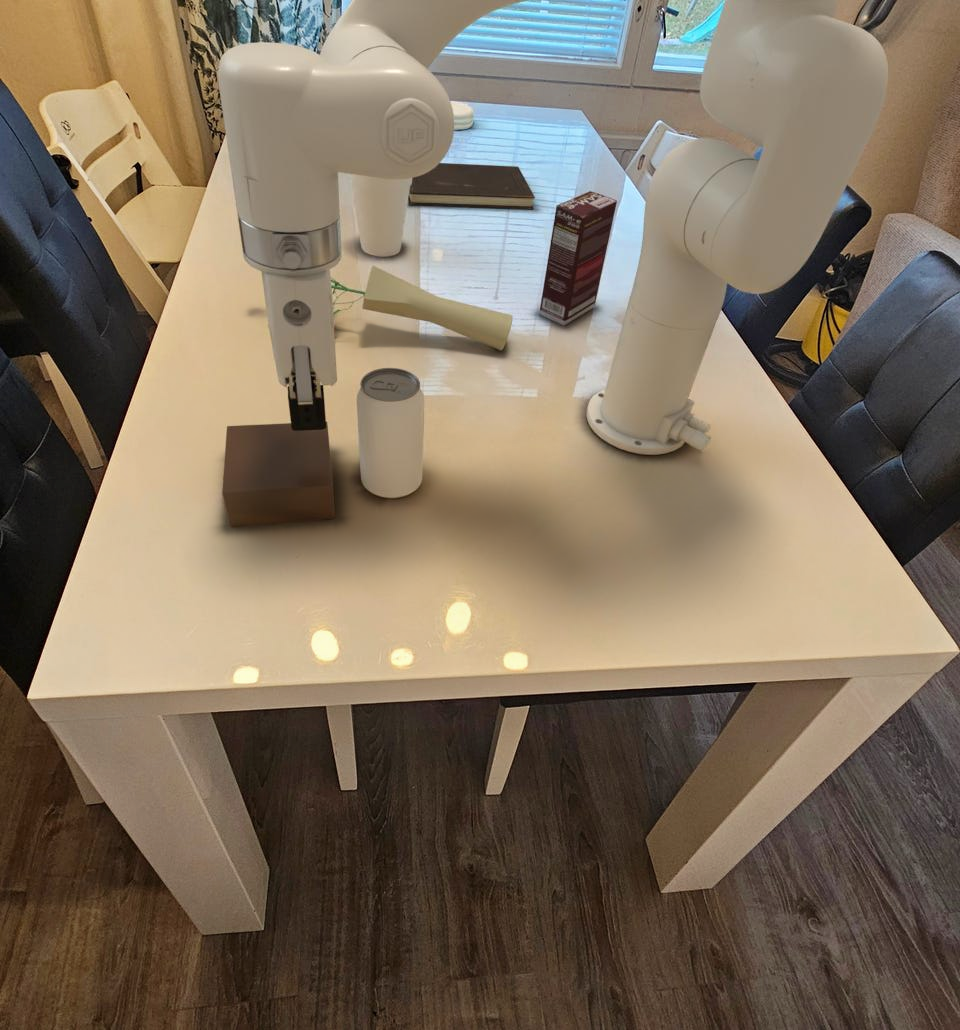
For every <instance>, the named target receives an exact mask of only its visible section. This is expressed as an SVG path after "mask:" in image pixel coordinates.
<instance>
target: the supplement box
mask: <svg viewBox="0 0 960 1030" xmlns="http://www.w3.org/2000/svg"><path fill="white" fill-rule="evenodd" d="M617 203H618V200H617V199H614V198H612V197H609V196H606V195H603V194H601V193H597V192H594V191H591V190H589V191H587V192H585V193H582V194H581V195H578V196H575V197H573V198H571V199H569V200H567V201H563V202H562V203H560V204H556V206H555V213H554V218H553V225H552V232H551V237H550V244H549V251H548V256H547V263H546V269H545V275H544V280H543V281H544V282H543V285H542V286H543V287H542V292H541V294H542V295H541V299H540V305H539V312H538V314H539V315H540V316H542V317H544V318H545V319H548V320H550V321H552V322H554V323H556V324H558V325H560V326H566V325H567V324H569V323H570V322H572V321H574V320H576V319H577V318H578V317H580V316H582V315H584V314H586V313H587V312H589V311H590V310H592V309H593V308H595V307H596V302H597V298H598V293H599V289H600V283H601V278H602V274H603V268H604V264H605V260H606V255H607V249H608V245H609V240H610V237H611V231H612V226H613V222H614V217H615V212H616V208H617Z"/></svg>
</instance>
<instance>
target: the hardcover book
mask: <svg viewBox="0 0 960 1030" xmlns="http://www.w3.org/2000/svg"><path fill="white" fill-rule="evenodd" d="M533 199H536V196H535V195H534V193H533V191H532V189H531V187H530V185H529V183H528V182H527V180H526V178H525V176H524V174H523V173H522V171H521V169H520V166H516V165H494V164H473V163H472V164H471V163H451V162H450V163H449V162H448V163H447V162H440V163H439V164H438V165H437V166H436V167H435V168H433V169H432V170H430V171H429V172H427V173H425V174H423V175H420V176H418V177H414V178H412V185H410V190H409V197H408V204H409V206H423V207H425V206H426V207H451V208H452V207H453V208H455V207H456V208H479V209H480V208H483V209H484V208H485V209H508V210H509V209H513V210H534V206H533V203H534V201H533Z"/></svg>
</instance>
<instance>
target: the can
mask: <svg viewBox="0 0 960 1030" xmlns="http://www.w3.org/2000/svg"><path fill="white" fill-rule="evenodd" d="M359 385H360V387H359V389H358V392H357V395H356V414H357V415H356V416H357V432H358V433H357V434H358V435H357V436H358V451H359V453H358V454H359V464H360V465H359V468H360V469H359V470H360V480H361V483H362V485H363V487H364V488H365V489H366V491H368V492H370V493H371V494H373V495H374V496H377V497H381V498H384V499H400V498H403V497H407V496H409V495H411V494H413V493H414V492H415V491H417V490H418V489H419V488H420V486H421V485H422V483H423V469H424V467H423V466H424V436H425V435H424V434H425V432H424V431H425V430H424V429H425V396H424V393H423V391H422V388H421V382H420V379H419V378H418V376H416V375H415V374H414V373H412V372H411V371H408V370H406V369H402V368H399V367H398V368H397V367H383V368H377V369H373V370H371V371H369V372H367V373H366V374H365V375H363V376H362V378H361V381H360V383H359Z"/></svg>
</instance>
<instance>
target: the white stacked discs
mask: <svg viewBox="0 0 960 1030" xmlns="http://www.w3.org/2000/svg"><path fill="white" fill-rule="evenodd" d="M450 102H451V105H452V109H453V113H454V131H462V130H467V129H469V128H471V127H472V126H473V124H474V121H473V120H474V117H475V116H474V114H475V109H474V108H473V106H471V105H469V104H467V103H464V102H461V101H456V100H450Z"/></svg>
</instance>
